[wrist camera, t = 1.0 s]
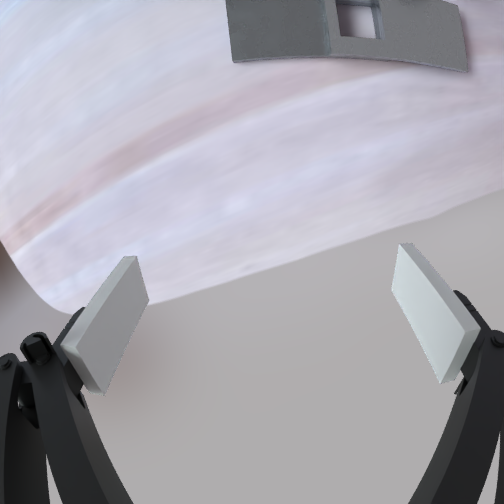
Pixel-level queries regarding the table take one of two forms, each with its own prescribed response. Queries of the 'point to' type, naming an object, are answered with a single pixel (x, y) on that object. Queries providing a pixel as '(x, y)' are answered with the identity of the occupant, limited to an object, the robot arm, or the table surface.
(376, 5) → the plate with square hole
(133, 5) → the table surface
